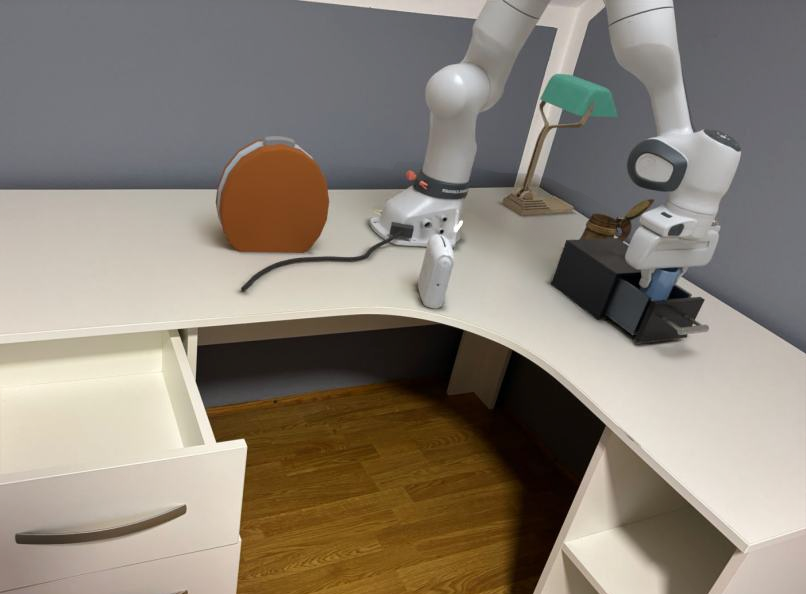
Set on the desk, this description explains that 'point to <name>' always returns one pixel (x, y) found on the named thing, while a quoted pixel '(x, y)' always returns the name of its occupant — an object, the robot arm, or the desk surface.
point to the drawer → (653, 312)
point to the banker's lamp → (573, 99)
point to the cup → (661, 283)
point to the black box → (592, 272)
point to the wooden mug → (613, 223)
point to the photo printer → (435, 271)
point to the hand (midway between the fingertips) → (656, 285)
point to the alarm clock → (272, 197)
